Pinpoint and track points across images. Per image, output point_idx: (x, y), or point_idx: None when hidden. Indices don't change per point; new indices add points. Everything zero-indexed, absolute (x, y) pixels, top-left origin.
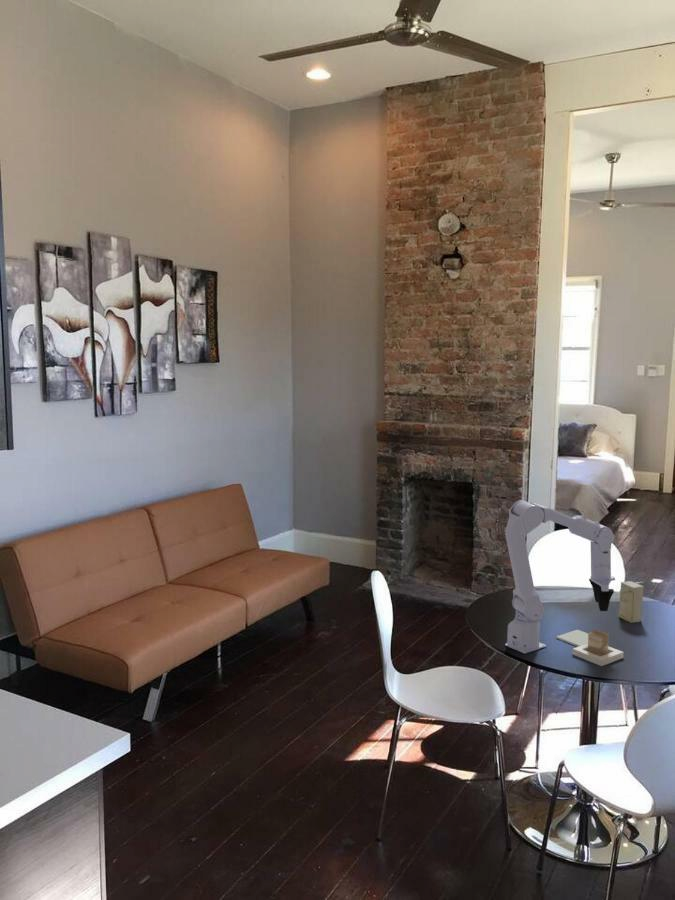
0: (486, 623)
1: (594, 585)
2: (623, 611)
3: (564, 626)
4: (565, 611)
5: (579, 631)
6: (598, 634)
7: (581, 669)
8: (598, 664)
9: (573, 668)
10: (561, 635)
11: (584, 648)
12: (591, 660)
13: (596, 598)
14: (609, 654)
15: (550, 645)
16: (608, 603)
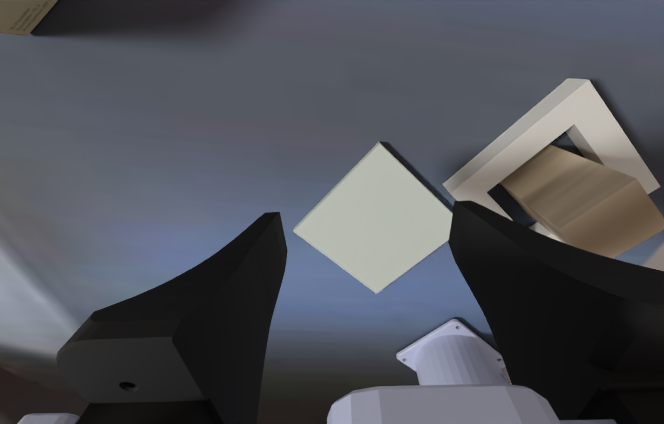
0: (303, 412)
1: (254, 377)
2: (3, 5)
3: None
4: (101, 249)
5: (311, 226)
6: (630, 229)
7: (646, 240)
8: None
9: (631, 261)
10: (365, 280)
11: None
12: None
13: (282, 266)
14: (606, 149)
15: (438, 305)
16: (522, 229)
